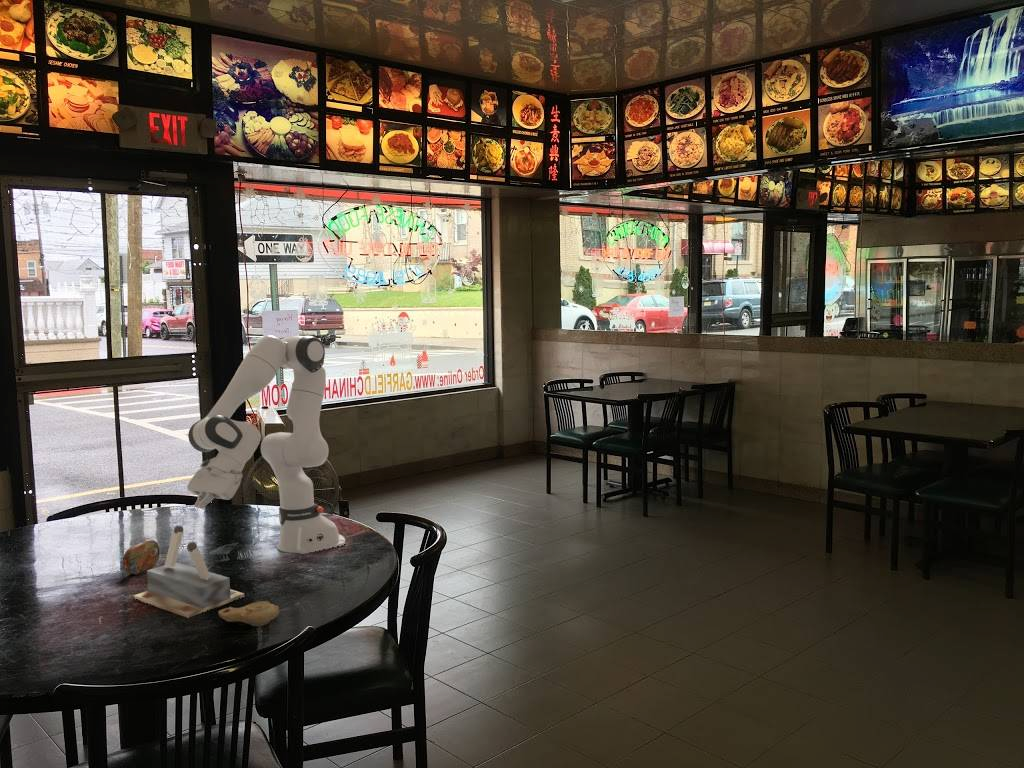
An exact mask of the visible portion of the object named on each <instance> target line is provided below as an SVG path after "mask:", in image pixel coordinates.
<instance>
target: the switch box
mask: <svg viewBox="0 0 1024 768" xmlns="http://www.w3.org/2000/svg"><path fill="white" fill-rule="evenodd" d="M208 572H209V574H210V576H211V577H210V578H209V579H208V580H205V579H201V578H200V576H199V574H198V572H197V569H196V567H195V566H194V567H193V566H190V565H187V564H185V563H181V562H177V561H176V564H175V567H171V566H168V565H165V564H164V565H160V566H157V567H154V568H153V567H152V568H149V569H147V570H146V576H147V590H146V591H143V592H140V593H137V594H134V595H133V599H134V598H135V599H134V600H136V599H138V600H137V601H139V600H140V602H142V603H145V604H147V603H148V605H150V604H151V605H150V606H153V605H154V607H157V608H159V609H162V610H164V611H168V612H170V613H172V614H176V615H179V616H182V617H185V618H187V619H189V618H192V617H194V616H196V615H199V614H202V612H203V613H206V612H208V611H210V609H211V610H212V609H216V608H219V607H221V606H224V605H226V604H229V603H233V602H234V600H235V601H237V600H240V599H242V597H243V598H245V593H243V592H240V591H237V590H234V589H231V584H230V583H231V582H230V581H231V580H230V577H227V576H224V575H222V574H217V573H214V572H211V571H208ZM239 598H240V599H239ZM207 610H208V611H207Z"/></svg>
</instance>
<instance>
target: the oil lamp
mask: <svg viewBox="0 0 1024 768" xmlns="http://www.w3.org/2000/svg"><path fill="white" fill-rule="evenodd" d="M217 613H218V614H217V615H218V616H219V618H221V619H222V620H224V621H226V622H228V623H231V622H232V623H233V622H237V623H239V622H240V623H243V624H248V625H250V626H251V627H262V626H266V625H268V624H269V623H270V622H271V621H272V620H274V619H276V617H278V616H279V613H280V607H279V606H278V605H275V604H274V603H270V601H266V600H263V601H254V602H252V603H249V604H247V605H244V606H242V607H232V606H229V607H225V608H223V609H220V610H218V611H217Z"/></svg>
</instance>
